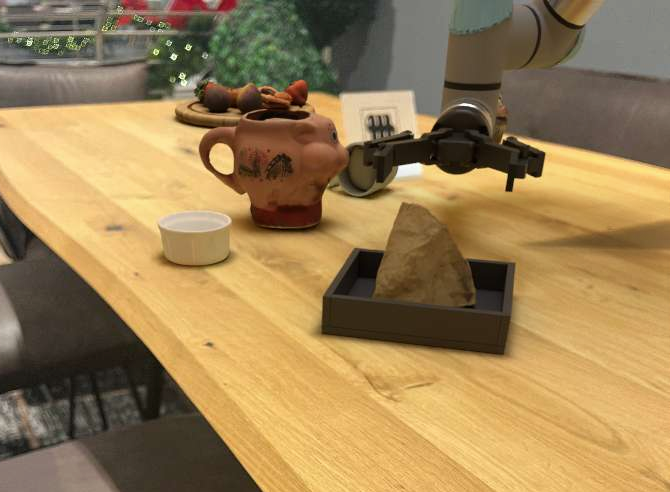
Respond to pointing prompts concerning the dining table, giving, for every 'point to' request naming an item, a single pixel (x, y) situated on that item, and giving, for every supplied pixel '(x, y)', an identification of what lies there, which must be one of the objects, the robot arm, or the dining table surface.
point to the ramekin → (195, 237)
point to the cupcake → (500, 122)
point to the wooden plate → (239, 102)
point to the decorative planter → (280, 164)
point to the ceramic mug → (360, 174)
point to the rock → (423, 263)
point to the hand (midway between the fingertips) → (444, 173)
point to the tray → (420, 308)
